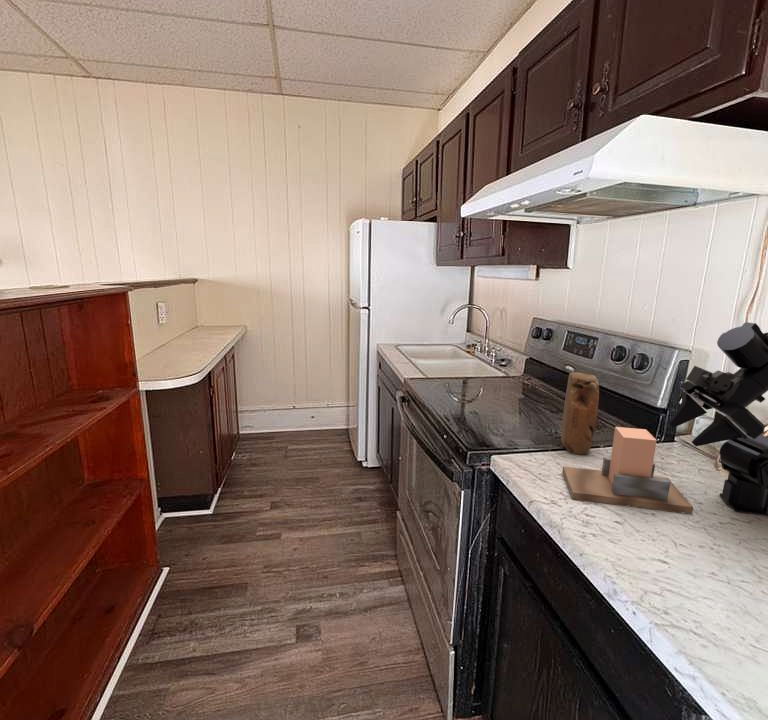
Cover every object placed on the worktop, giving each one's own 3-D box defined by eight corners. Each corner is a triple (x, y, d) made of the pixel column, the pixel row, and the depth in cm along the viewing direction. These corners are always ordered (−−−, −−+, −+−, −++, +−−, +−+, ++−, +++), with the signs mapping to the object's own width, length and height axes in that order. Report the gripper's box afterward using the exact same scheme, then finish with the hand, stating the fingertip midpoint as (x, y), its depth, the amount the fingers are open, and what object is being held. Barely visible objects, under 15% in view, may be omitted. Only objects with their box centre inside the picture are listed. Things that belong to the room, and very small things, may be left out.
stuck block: (637, 480, 93) (645, 429, 90) (647, 494, 87) (656, 440, 84) (608, 477, 94) (615, 426, 91) (616, 490, 88) (623, 437, 86)
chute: (666, 484, 94) (670, 461, 93) (691, 513, 83) (696, 488, 82) (562, 472, 99) (564, 450, 98) (572, 498, 88) (575, 474, 87)
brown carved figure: (559, 437, 119) (567, 369, 115) (588, 441, 117) (597, 372, 112) (562, 453, 109) (570, 379, 105) (593, 458, 107) (603, 382, 102)
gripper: (694, 343, 89) (634, 393, 93) (754, 365, 71) (675, 425, 75) (732, 378, 89) (669, 427, 94) (800, 409, 71) (719, 466, 76)
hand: (681, 434), depth 85 cm, fingers open, 9 cm apart
